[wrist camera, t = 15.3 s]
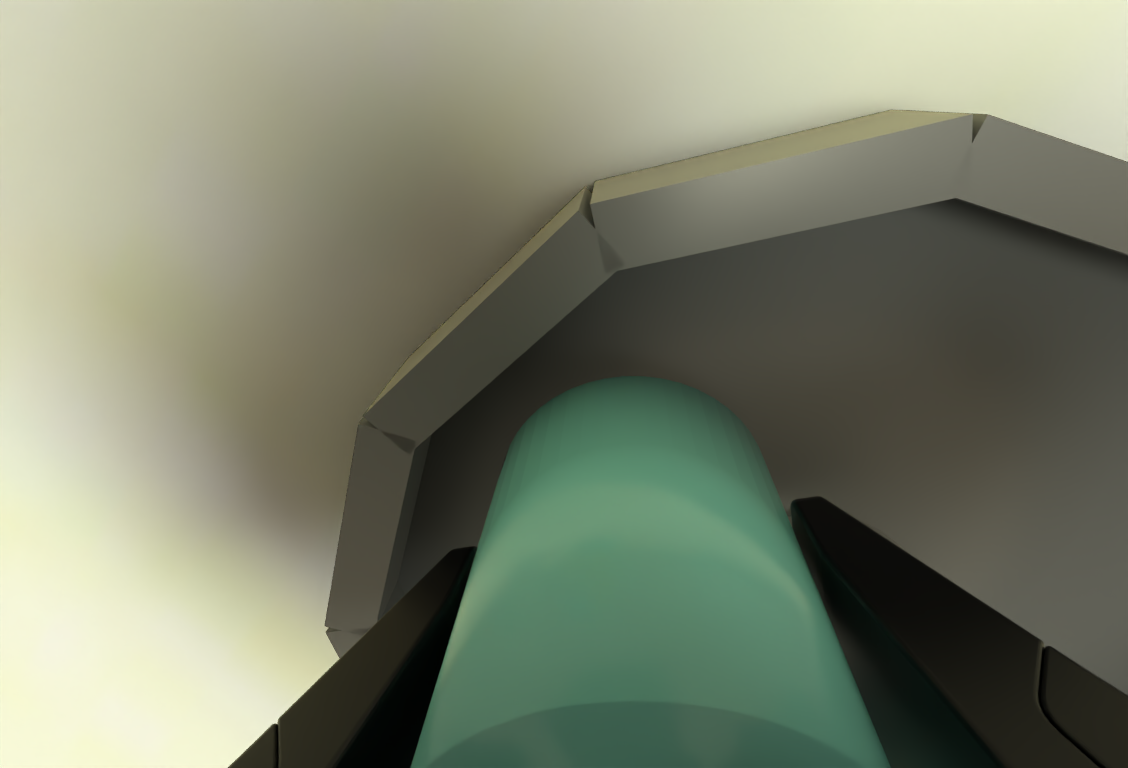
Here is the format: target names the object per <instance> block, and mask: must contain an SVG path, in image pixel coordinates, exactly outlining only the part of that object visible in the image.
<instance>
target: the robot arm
mask: <svg viewBox="0 0 1128 768" xmlns="http://www.w3.org/2000/svg"><path fill="white" fill-rule="evenodd" d="M790 508H791V518H792V528H793V531H794V533H795V536H796V538H797V541H798V543H799V545H800V548H801V550H802V553H803V555H804V558H805V560H806V562H807V565H808V567H809V570H810V572H811V575H812V577H813V579H814V582H815V584H816V587H817V589H818V592H819V594H820V596H821V599H822V601H823V604H824V606H825V609H826V611H827V613H828V616H829V618H830V621H831V623H832V626H833V628H834V630H835V633H836V635H837V638H838V640H839V643H840V645H841V647H842V650H843V652H844V655H845V657H846V660H847V662H848V664H849V667H850V669H851V672H852V674H853V677H854V679H855V681H856V684H857V686H858V689H859V691H860V694H861V696H862V698H863V701H864V703H865V706H866V708H867V711H868V713H869V716H870V718H871V720H872V723H873V725H874V728H875V730H876V733H877V735H878V737H879V740H880V742H881V745H882V747H883V750H884V752H885V754H886V757H887V759H888V762H889V764H890V767H891V768H1128V695H1127V694H1125V693H1124V692H1122V691H1120V690H1119V689H1117V688H1116V687H1114V686H1112V685H1111V684H1109V683H1108V682H1106V681H1104V680H1103V679H1101V678H1100V677H1098V676H1096V675H1095V674H1093V673H1092V672H1090V671H1089V670H1087V669H1085V668H1084V667H1082V666H1081V665H1079V664H1078V663H1076V662H1075V661H1073V660H1072V659H1070V658H1068V657H1067V656H1065V655H1064V654H1062V653H1061V652H1059V651H1058V650H1056V649H1055V648H1053V647H1051V646H1046V647H1045V648H1044V642H1043V641H1042V640H1040V639H1039V638H1037V637H1036V636H1034V635H1033V634H1031V633H1030V632H1028V631H1027V630H1025V629H1024V628H1022V627H1021V626H1019V625H1018V624H1016V623H1015V622H1013V621H1011V620H1010V619H1008V618H1007V617H1005V616H1004V615H1002V614H1001V613H999V612H998V611H996V610H995V609H993V608H992V607H990V606H989V605H987V604H985V603H984V602H982V601H981V600H979V599H978V598H976V597H975V596H973V595H972V594H970V593H969V592H967V591H966V590H964V589H963V588H961V587H960V586H958V585H956V584H955V583H953V582H952V581H950V580H949V579H947V578H946V577H944V576H943V575H941V574H940V573H938V572H937V571H935V570H934V569H932V568H930V567H929V566H927V565H926V564H924V563H923V562H921V561H920V560H918V559H917V558H915V557H914V556H912V555H911V554H909V553H908V552H906V551H905V550H903V549H901V548H900V547H898V546H897V545H895V544H894V543H892V542H891V541H889V540H888V539H886V538H885V537H883V536H882V535H880V534H879V533H877V532H875V531H874V530H872V529H871V528H869V527H868V526H866V525H865V524H863V523H862V522H860V521H859V520H857V519H856V518H854V517H853V516H851V515H850V514H848V513H846V512H845V511H843V510H842V509H840V508H839V507H837V506H836V505H834V504H833V503H831V502H830V501H828V500H827V499H825V498H823V497H821V496H814V497H807V498H800V499H795V500H793V501H792V502H791V507H790ZM476 551H477V547H475V546H470V547H463V548H456V549H452V550H450V551H449V552H448V553H447V554H446V555H445V556H444V557H443V558H442V559H441V560H440V561H439V562H438V563H437V564H436V565H435V566H434V567H433V568H432V569H431V570H430V571H429V572H428V573H427V574H426V575H425V576H424V577H423V578H422V579H421V580H420V581H418V582H417V583H416V584H415V585H414V586H413V587H412V588H411V589H410V590H409V591H408V592H407V593H406V594H405V595H404V596H403V597H402V598H401V599H400V600H399V601H398V602H397V603H396V604H395V605H394V606H393V607H392V608H391V609H390V610H389V611H388V612H387V613H386V614H385V615H384V616H383V617H382V618H381V619H380V620H379V621H378V622H377V623H376V624H375V625H374V626H373V627H372V628H371V629H370V630H369V631H368V632H366V633H365V634H364V635H363V636H362V637H361V638H360V639H359V640H358V641H357V642H356V643H355V644H354V645H353V646H352V647H351V648H350V649H349V650H348V651H347V652H346V653H345V654H344V655H343V656H342V657H341V658H340V659H339V660H338V661H337V662H336V663H335V664H334V665H333V666H332V667H331V668H330V669H329V670H328V671H327V672H326V673H325V674H324V675H323V676H322V677H321V678H320V679H319V680H318V681H317V682H315V683H314V684H313V685H312V686H311V687H310V688H309V689H308V690H307V691H306V692H305V693H304V694H303V695H302V696H301V697H300V698H299V699H298V700H297V701H296V702H295V703H294V704H293V705H292V706H291V707H290V708H289V709H288V710H287V711H286V712H285V713H284V714H283V715H282V716H281V717H280V718H279V719H278V724H273V725H271V726H270V727H269V728H268V729H267V730H266V731H265V732H264V733H263V734H262V735H261V736H260V737H259V738H258V739H257V740H256V741H255V742H254V743H253V744H252V745H251V746H250V747H249V748H248V749H247V750H246V751H245V752H244V753H243V754H242V755H241V756H240V757H238V758H237V759H236V760H235V761H234V762H233V763H232V764H231V765H230V766H229V767H228V768H411V765H412V761H413V758H414V755H415V751H416V748H417V745H418V741H419V738H420V735H421V732H422V728H423V725H424V722H425V718H426V715H427V712H428V709H429V705H430V702H431V699H432V695H433V692H434V689H435V686H436V682H437V679H438V676H439V672H440V669H441V666H442V662H443V659H444V656H445V653H446V649H447V646H448V643H449V639H450V636H451V633H452V630H453V626H454V623H455V620H456V616H457V613H458V610H459V607H460V603H461V600H462V597H463V593H464V590H465V587H466V583H467V580H468V577H469V574H470V570H471V567H472V564H473V560H474V557H475V554H476Z"/></svg>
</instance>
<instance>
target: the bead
mask: <svg viewBox="0 0 1128 768" xmlns="http://www.w3.org/2000/svg"><path fill="white" fill-rule="evenodd" d="M411 768H891V767H890V764H889V762H888V759H887V757H886V754H885V752H884V750H883V747H882V745H881V742H880V740H879V737H878V735H877V733H876V730H875V728H874V725H873V723H872V720H871V718H870V716H869V713H868V711H867V708H866V706H865V703H864V701H863V698H862V696H861V694H860V691H859V689H858V686H857V684H856V681H855V679H854V677H853V674H852V672H851V669H850V667H849V664H848V662H847V660H846V657H845V655H844V652H843V650H842V647H841V645H840V643H839V640H838V638H837V635H836V633H835V630H834V628H833V626H832V623H831V621H830V618H829V616H828V613H827V611H826V609H825V606H824V604H823V601H822V599H821V596H820V594H819V592H818V589H817V587H816V584H815V582H814V579H813V577H812V575H811V572H810V570H809V567H808V565H807V562H806V560H805V558H804V555H803V553H802V550H801V548H800V545H799V543H798V541H797V538H796V536H795V533H794V531H793V528H792V526H791V524H790V521H789V519H788V516H787V514H786V511H785V509H784V506H783V504H782V502H781V499H780V497H779V494H778V492H777V489H776V487H775V485H774V482H773V480H772V477H771V475H770V472H769V470H768V468H767V465H766V463H765V460H764V458H763V455H762V453H761V451H760V448H759V446H758V444H757V443H756V441H755V439H754V437H753V436H752V434H751V432H750V431H749V430H748V428H747V427H746V426H745V425H744V423H743V422H742V421H741V420H740V419H739V418H738V417H737V416H736V415H735V414H734V413H733V412H732V411H731V410H730V409H729V408H727V407H726V406H725V405H723V404H722V403H720V402H719V401H718V400H716V399H715V398H713V397H711V396H709V395H707V394H706V393H704V392H702V391H700V390H698V389H695V388H693V387H690V386H687V385H685V384H682V383H679V382H675V381H671V380H667V379H662V378H655V377H646V376H621V377H613V378H604V379H600V380H596V381H592V382H588V383H585V384H582V385H580V386H577V387H574V388H572V389H569V390H567V391H565V392H564V393H562V394H560V395H558V396H556V397H554V398H553V399H551V400H550V401H548V402H547V403H546V404H544V405H543V406H541V407H540V408H539V409H538V410H537V411H536V412H535V413H534V414H533V415H531V416H530V417H529V418H528V419H527V420H526V422H525V423H524V424H523V425H522V427H521V428H520V429H519V431H518V432H517V433H516V435H515V437H514V439H513V440H512V442H511V444H510V446H509V448H508V451H507V453H506V456H505V459H504V462H503V465H502V468H501V472H500V475H499V478H498V481H497V485H496V488H495V491H494V495H493V498H492V501H491V505H490V508H489V511H488V514H487V518H486V521H485V524H484V528H483V531H482V534H481V537H480V541H479V544H478V547H477V551H476V554H475V557H474V560H473V564H472V567H471V570H470V574H469V577H468V580H467V583H466V587H465V590H464V593H463V597H462V600H461V603H460V607H459V610H458V613H457V616H456V620H455V623H454V626H453V630H452V633H451V636H450V639H449V643H448V646H447V649H446V653H445V656H444V659H443V662H442V666H441V669H440V672H439V676H438V679H437V682H436V686H435V689H434V692H433V695H432V699H431V702H430V705H429V709H428V712H427V715H426V718H425V722H424V725H423V728H422V732H421V735H420V738H419V741H418V745H417V748H416V751H415V755H414V758H413V761H412V765H411Z"/></svg>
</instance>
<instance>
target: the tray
mask: <svg viewBox="0 0 1128 768" xmlns="http://www.w3.org/2000/svg"><path fill="white" fill-rule="evenodd" d="M621 376H646V377H655V378H662V379H667V380H671V381H675V382H679V383H682V384H685V385H687V386H690V387H693V388H695V389H698V390H700V391H702V392H704V393H706V394H707V395H709V396H711V397H713V398H715V399H716V400H718V401H719V402H720V403H722V404H723V405H725V406H726V407H727V408H729V409H730V410H731V411H732V412H733V413H734V414H735V415H736V416H737V417H738V418H739V419H740V420H741V421H742V422H743V423H744V425H745V426H746V427H747V428H748V430H749V431H750V432H751V434H752V436H753V437H754V439H755V441H756V443H757V444H758V446H759V448H760V451H761V453H762V455H763V458H764V460H765V463H766V465H767V468H768V470H769V472H770V475H771V477H772V480H773V482H774V485H775V487H776V489H777V492H778V494H779V497H780V499H781V502H782V504H783V506H784V509H785V511H786V514H787V516H788V519H789V521H790V524H791V526H792V518H791V508H790V507H791V502H792V501H793V500H795V499H800V498H807V497H814V496H821V497H823V498H825V499H827V500H828V501H830V502H831V503H833V504H834V505H836V506H837V507H839V508H840V509H842V510H843V511H845V512H846V513H848V514H850V515H851V516H853V517H854V518H856V519H857V520H859V521H860V522H862V523H863V524H865V525H866V526H868V527H869V528H871V529H872V530H874V531H875V532H877V533H879V534H880V535H882V536H883V537H885V538H886V539H888V540H889V541H891V542H892V543H894V544H895V545H897V546H898V547H900V548H901V549H903V550H905V551H906V552H908V553H909V554H911V555H912V556H914V557H915V558H917V559H918V560H920V561H921V562H923V563H924V564H926V565H927V566H929V567H930V568H932V569H934V570H935V571H937V572H938V573H940V574H941V575H943V576H944V577H946V578H947V579H949V580H950V581H952V582H953V583H955V584H956V585H958V586H960V587H961V588H963V589H964V590H966V591H967V592H969V593H970V594H972V595H973V596H975V597H976V598H978V599H979V600H981V601H982V602H984V603H985V604H987V605H989V606H990V607H992V608H993V609H995V610H996V611H998V612H999V613H1001V614H1002V615H1004V616H1005V617H1007V618H1008V619H1010V620H1011V621H1013V622H1015V623H1016V624H1018V625H1019V626H1021V627H1022V628H1024V629H1025V630H1027V631H1028V632H1030V633H1031V634H1033V635H1034V636H1036V637H1037V638H1039V639H1040V640H1042V641H1043V642H1044V648H1045V647H1046V646H1051V647H1053V648H1055V649H1056V650H1058V651H1059V652H1061V653H1062V654H1064V655H1065V656H1067V657H1068V658H1070V659H1072V660H1073V661H1075V662H1076V663H1078V664H1079V665H1081V666H1082V667H1084V668H1085V669H1087V670H1089V671H1090V672H1092V673H1093V674H1095V675H1096V676H1098V677H1100V678H1101V679H1103V680H1104V681H1106V682H1108V683H1109V684H1111V685H1112V686H1114V687H1116V688H1117V689H1119V690H1120V691H1122V692H1124V693H1125V694H1127V695H1128V162H1126V161H1123V160H1120V159H1117V158H1115V157H1112V156H1109V155H1106V154H1103V153H1100V152H1097V151H1094V150H1091V149H1088V148H1085V147H1082V146H1079V145H1076V144H1073V143H1070V142H1068V141H1065V140H1062V139H1059V138H1056V137H1053V136H1050V135H1047V134H1044V133H1041V132H1038V131H1035V130H1032V129H1029V128H1026V127H1023V126H1020V125H1018V124H1015V123H1012V122H1009V121H1006V120H1003V119H1000V118H997V117H994V116H991V115H988V114H969V113H949V112H929V111H910V110H888V111H884V112H880V113H876V114H871V115H867V116H863V117H859V118H855V119H851V120H847V121H842V122H838V123H834V124H830V125H826V126H822V127H818V128H813V129H809V130H805V131H801V132H797V133H793V134H788V135H784V136H780V137H776V138H772V139H768V140H764V141H759V142H755V143H751V144H747V145H743V146H739V147H735V148H730V149H726V150H722V151H718V152H714V153H710V154H706V155H701V156H697V157H693V158H689V159H685V160H681V161H676V162H672V163H668V164H664V165H660V166H656V167H652V168H647V169H643V170H639V171H635V172H631V173H627V174H623V175H618V176H614V177H610V178H606V179H602V180H598V181H595V183H594V188H593V193H591V192H590V191H589V190H588V188H587V187H586V186H585V187H584V188H583V189H582V190H581V191H580V192H579V193H578V194H577V195H576V196H575V197H574V198H573V199H572V200H571V201H570V202H569V203H568V204H567V205H566V206H565V207H564V208H563V209H562V210H561V211H560V212H559V213H557V214H556V215H555V216H554V217H553V218H552V219H551V220H550V221H549V222H548V223H547V224H546V225H545V226H544V227H543V228H542V229H541V230H540V231H539V232H538V233H537V234H536V235H535V236H534V237H533V238H532V239H531V240H530V241H529V242H527V243H526V244H525V245H524V246H523V247H522V248H521V249H520V250H519V251H518V252H517V253H516V254H515V255H514V256H513V257H512V258H511V259H510V260H509V261H508V262H507V263H506V264H505V265H504V266H503V267H502V268H501V269H500V270H499V271H497V272H496V273H495V274H494V275H493V276H492V277H491V278H490V279H489V280H488V281H487V282H486V283H485V284H484V285H483V286H482V287H481V288H480V289H479V290H478V291H477V292H476V293H475V294H474V295H473V296H472V297H471V298H470V299H469V300H467V301H466V302H465V303H464V304H463V305H462V306H461V307H460V308H459V309H458V310H457V311H456V312H455V313H454V314H453V315H452V316H451V317H450V318H449V319H448V320H447V321H446V322H445V323H444V324H443V325H442V326H441V327H440V328H439V329H437V330H436V331H435V332H434V333H433V334H432V335H431V336H430V337H429V338H428V339H427V340H426V341H425V342H424V343H423V344H422V345H421V346H420V347H419V348H418V349H417V350H416V351H415V352H414V353H413V354H412V355H411V356H410V357H409V358H408V359H407V360H406V361H405V363H404V364H403V365H402V366H401V368H400V369H399V370H398V371H397V373H396V374H395V375H394V377H393V378H392V379H391V380H390V382H389V383H388V384H387V386H386V387H385V388H384V389H383V391H382V392H381V393H380V395H379V396H378V397H377V398H376V400H375V401H374V402H373V404H372V405H371V406H370V407H369V409H368V410H367V411H366V412H365V414H364V415H363V417H364V418H363V419H362V420H361V421H360V423H359V424H358V430H357V436H356V441H355V447H354V453H353V459H352V465H351V471H350V477H349V483H348V489H347V495H346V501H345V507H344V513H343V519H342V525H341V531H340V537H339V543H338V549H337V555H336V561H335V567H334V573H333V579H332V585H331V591H330V597H329V602H328V608H327V614H326V620H325V626H326V627H329V628H328V630H327V631H326V634H327V636H328V638H329V640H330V641H331V643H332V645H333V647H334V649H335V651H336V653H337V655H338V656H339V658H341V657H342V656H343V655H344V654H345V653H346V652H347V651H348V650H349V649H350V648H351V647H352V646H353V645H354V644H355V643H356V642H357V641H358V640H359V639H360V638H361V637H362V636H363V635H364V634H365V633H366V632H368V631H369V630H370V629H371V628H372V627H373V626H374V625H375V624H376V623H377V622H378V621H379V620H380V619H381V618H382V617H383V616H384V615H385V614H386V613H387V612H388V611H389V610H390V609H391V608H392V607H393V606H394V605H395V604H396V603H397V602H398V601H399V600H400V599H401V598H402V597H403V596H404V595H405V594H406V593H407V592H408V591H409V590H410V589H411V588H412V587H413V586H414V585H415V584H416V583H417V582H418V581H420V580H421V579H422V578H423V577H424V576H425V575H426V574H427V573H428V572H429V571H430V570H431V569H432V568H433V567H434V566H435V565H436V564H437V563H438V562H439V561H440V560H441V559H442V558H443V557H444V556H445V555H446V554H447V553H448V552H449V551H450V550H452V549H456V548H463V547H470V546H475V547H478V544H479V541H480V537H481V534H482V531H483V528H484V524H485V521H486V518H487V514H488V511H489V508H490V505H491V501H492V498H493V495H494V491H495V488H496V485H497V481H498V478H499V475H500V472H501V468H502V465H503V462H504V459H505V456H506V453H507V451H508V448H509V446H510V444H511V442H512V440H513V439H514V437H515V435H516V433H517V432H518V431H519V429H520V428H521V427H522V425H523V424H524V423H525V422H526V420H527V419H528V418H529V417H530V416H531V415H533V414H534V413H535V412H536V411H537V410H538V409H539V408H540V407H541V406H543V405H544V404H546V403H547V402H548V401H550V400H551V399H553V398H554V397H556V396H558V395H560V394H562V393H564V392H565V391H567V390H569V389H572V388H574V387H577V386H580V385H582V384H585V383H588V382H592V381H596V380H600V379H604V378H613V377H621Z"/></svg>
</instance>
